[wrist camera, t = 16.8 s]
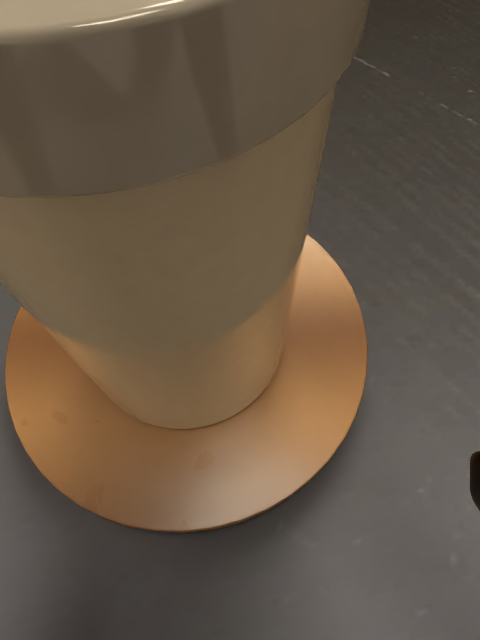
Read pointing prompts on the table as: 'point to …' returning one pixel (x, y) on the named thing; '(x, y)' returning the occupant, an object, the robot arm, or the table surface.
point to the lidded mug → (166, 185)
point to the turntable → (205, 442)
